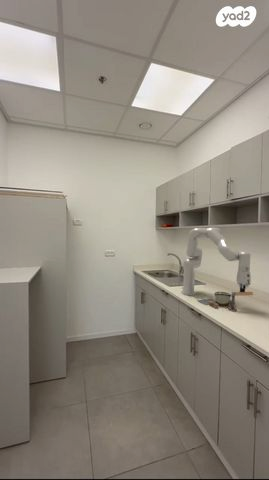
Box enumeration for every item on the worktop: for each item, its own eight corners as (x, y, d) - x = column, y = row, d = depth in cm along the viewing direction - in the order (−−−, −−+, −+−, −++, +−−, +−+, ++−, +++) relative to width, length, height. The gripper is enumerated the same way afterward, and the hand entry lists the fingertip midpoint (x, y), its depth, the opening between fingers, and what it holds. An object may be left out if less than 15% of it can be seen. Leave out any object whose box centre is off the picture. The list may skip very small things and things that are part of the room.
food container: (229, 304, 175) (229, 292, 175) (230, 307, 169) (231, 294, 169) (212, 303, 178) (213, 290, 178) (213, 305, 172) (214, 292, 172)
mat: (196, 300, 183) (196, 300, 183) (211, 299, 188) (211, 298, 188) (205, 305, 173) (205, 304, 173) (220, 303, 179) (220, 302, 179)
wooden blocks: (208, 305, 173) (208, 291, 173) (227, 302, 181) (227, 289, 180) (224, 312, 158) (225, 298, 158) (244, 309, 166) (245, 295, 165)
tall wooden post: (250, 294, 167) (250, 291, 167) (253, 295, 165) (253, 292, 164) (230, 295, 164) (230, 291, 164) (232, 296, 162) (232, 292, 161)
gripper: (255, 270, 160) (253, 296, 161) (241, 267, 174) (239, 290, 176) (246, 271, 158) (244, 296, 159) (232, 267, 173) (231, 290, 174)
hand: (242, 293), depth 167 cm, fingers closed
